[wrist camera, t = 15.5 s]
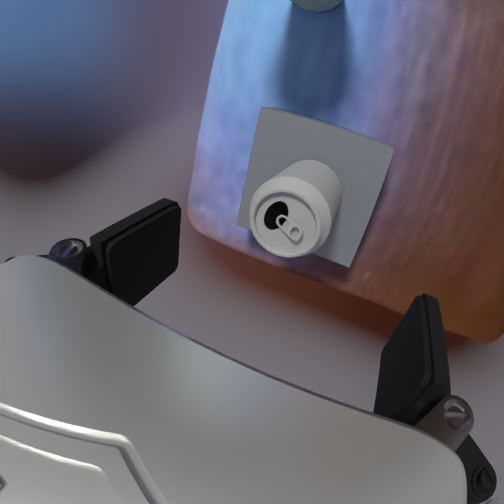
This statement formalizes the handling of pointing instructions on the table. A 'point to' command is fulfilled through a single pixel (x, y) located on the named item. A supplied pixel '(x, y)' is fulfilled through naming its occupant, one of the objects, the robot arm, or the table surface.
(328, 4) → the disposable coffee cup
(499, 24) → the table surface
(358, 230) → the grey block
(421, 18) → the table surface
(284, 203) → the can
